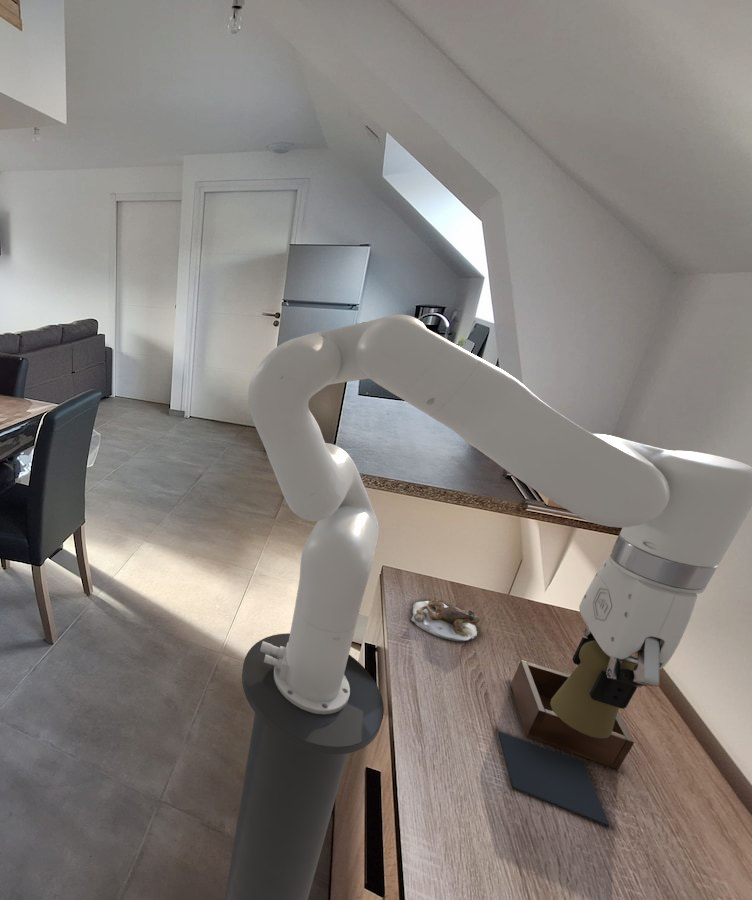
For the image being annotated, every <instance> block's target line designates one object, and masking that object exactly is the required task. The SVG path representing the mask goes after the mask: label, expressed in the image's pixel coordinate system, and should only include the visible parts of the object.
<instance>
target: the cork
mask: <svg viewBox="0 0 752 900" xmlns="http://www.w3.org/2000/svg"><path fill="white" fill-rule="evenodd" d="M579 658H580V661H581V663H580V664H579V665H576V667H575V668H574V670H573V671H572V673H571V674H569V675H570V676H569V678H568V679H567V680H566V681H565V683H564V684H563V685H562V686H561V688H560V689H559V690H558V691H557V693H556V694H555V695H554V696H553V698H552V699H551V702H550V704H551V707H552V709H553V711H554V712H555V714H556V715H557V716H558V717H559V718H560V719H561V720H562V721H563V722H565V723H566V724H568V725H569V726H570V727H572V728H573V729H575V730H577V731H579V732H581V733H583V734H586V735H588V736H591V737H596V738H608V737H609V736H610V735H611V734H612V730H613V727H614V723H615V719H616V716H617V712H618V713H619V709H620V708H618V707H615V706H612V705H609V704H605V703H602V702H599V701H596V700H593V699H592V698H591V696H590V691H591V690H592V688H593V686H594V684H595V682H596V680H597V678H598V676H599V674H600V672H601V671H605V672H606V671H607V667H608V663H609V659H610V656H608V655H607V654H606V653H605V652H604V651H603V650H602V649H601V647H600V646H599V644H598V643H597V641H596V640H594V641H589V642H587V643H585V644H584V645H583V646H582V647H581V649H580V652H579ZM634 666H635V664H633V663H629V662H626V661H622V662H621V666H620V669H629V670H634Z"/></svg>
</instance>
